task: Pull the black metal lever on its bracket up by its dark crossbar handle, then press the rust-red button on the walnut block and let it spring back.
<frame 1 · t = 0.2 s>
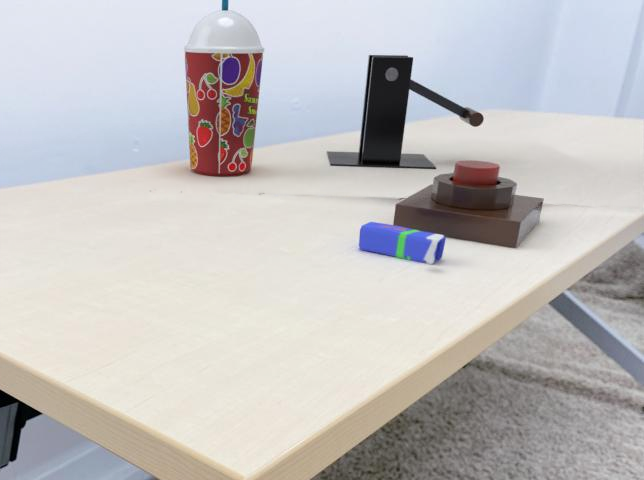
lever: (427, 93, 82), point 9 cm above the table, hinge at -25.0°
button: (475, 174, 60), point 4 cm above the table, slide at 0.1 cm
button block: (467, 225, 62), on the table
bracket: (377, 168, 86), on the table
eraser: (398, 257, 54), on the table
smoothie: (220, 181, 79), on the table
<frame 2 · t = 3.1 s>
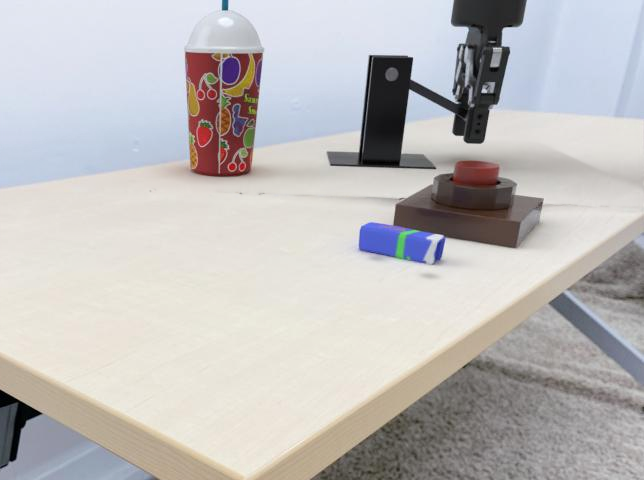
hand: (467, 138, 84), 4 cm above the table, tool pointing down, fingers closed on lever, 5 cm apart
lever: (427, 93, 82), point 9 cm above the table, hinge at -25.0°, touching gripper
everything else where it was.
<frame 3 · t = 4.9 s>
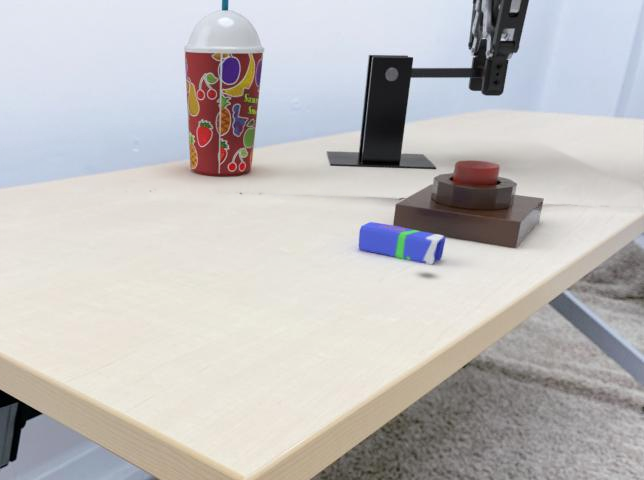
hand: (484, 92, 81), 9 cm above the table, tool pointing down, fingers closed on lever, 5 cm apart
lever: (434, 72, 81), point 11 cm above the table, hinge at 1.1°, touching gripper
everything else where it was.
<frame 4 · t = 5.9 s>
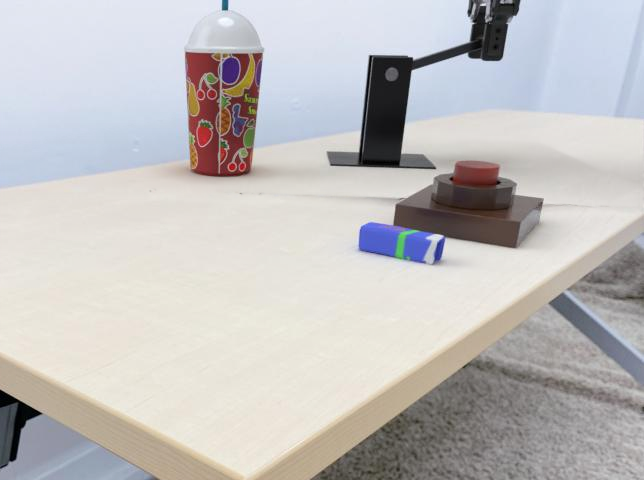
hand: (483, 59, 80), 13 cm above the table, tool pointing down, fingers closed on lever, 5 cm apart
lever: (434, 58, 80), point 13 cm above the table, hinge at 18.5°, touching gripper
everything else where it was.
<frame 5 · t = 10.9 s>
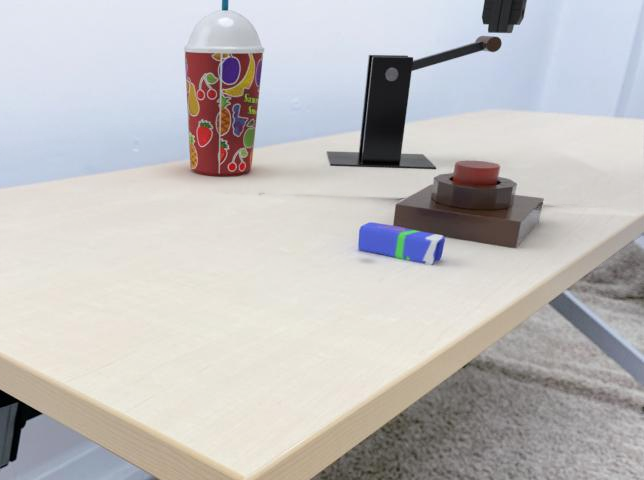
hand: (499, 32, 56), 16 cm above the table, tool pointing down, fingers closed
lever: (434, 59, 81), point 13 cm above the table, hinge at 17.2°
everything else where it was.
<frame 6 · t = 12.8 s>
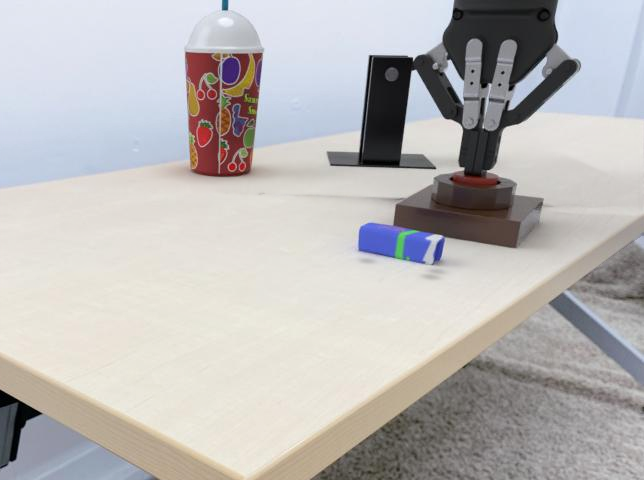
hand: (474, 174, 60), 5 cm above the table, tool pointing down, fingers closed
button: (474, 184, 61), point 4 cm above the table, slide at -0.8 cm, touching gripper
everything else where it was.
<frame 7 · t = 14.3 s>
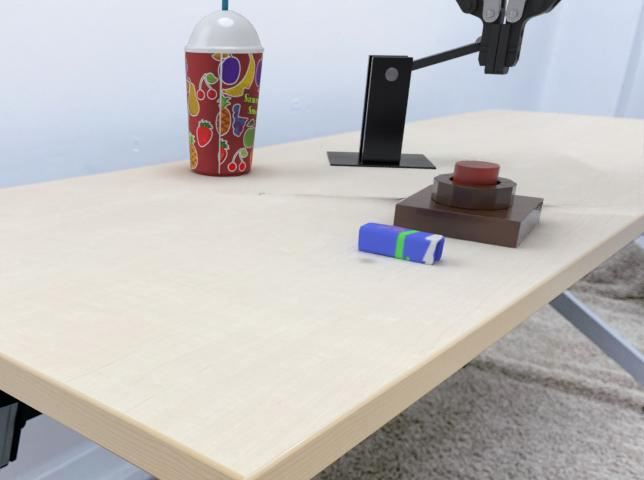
hand: (495, 73, 57), 13 cm above the table, tool pointing down, fingers closed
button: (475, 174, 60), point 4 cm above the table, slide at 0.1 cm
everything else where it was.
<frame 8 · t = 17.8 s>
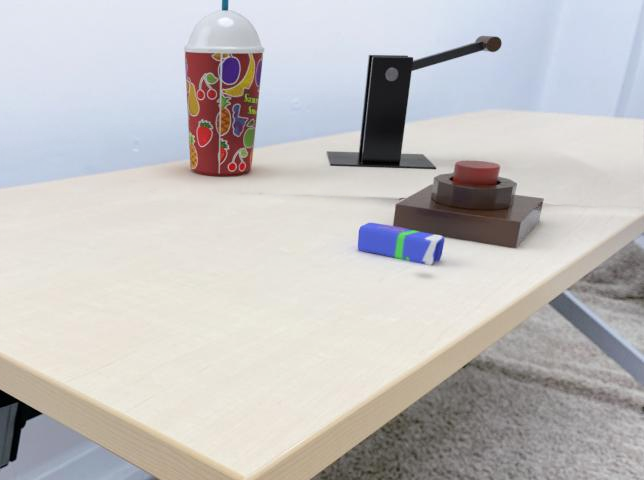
nothing on the table moved.
at the end: lever at +17° (first picture: -25°); button pushed in 1.1 cm at the most during the clip, back to where it started at the end; button slide at 0.1 cm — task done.
